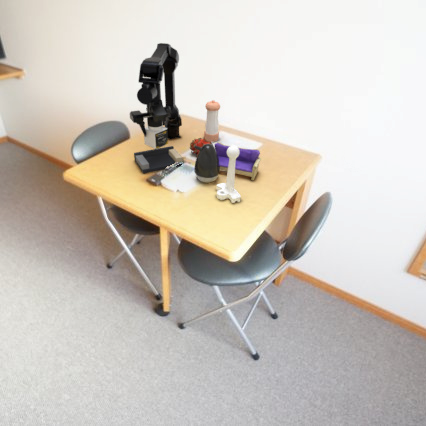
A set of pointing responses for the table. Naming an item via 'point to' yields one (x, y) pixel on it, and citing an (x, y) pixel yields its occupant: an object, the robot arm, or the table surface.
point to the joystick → (229, 178)
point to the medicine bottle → (155, 134)
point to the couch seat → (157, 159)
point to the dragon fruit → (198, 144)
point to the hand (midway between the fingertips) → (155, 134)
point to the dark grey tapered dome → (207, 163)
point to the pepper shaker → (212, 121)
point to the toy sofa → (239, 160)
